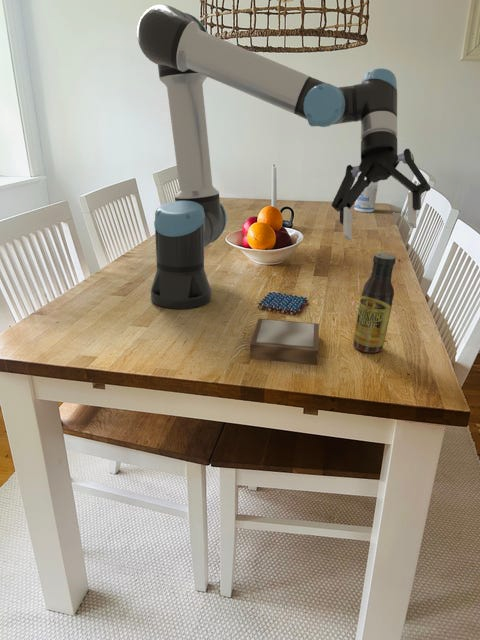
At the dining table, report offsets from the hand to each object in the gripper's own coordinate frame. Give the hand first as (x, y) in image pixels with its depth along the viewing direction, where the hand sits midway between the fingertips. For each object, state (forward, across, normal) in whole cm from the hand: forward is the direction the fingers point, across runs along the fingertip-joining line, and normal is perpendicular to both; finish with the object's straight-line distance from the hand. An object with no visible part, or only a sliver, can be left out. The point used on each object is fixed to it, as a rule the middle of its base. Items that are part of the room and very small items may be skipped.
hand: (378, 232), depth 100 cm
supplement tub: (-69, +53, -122) cm, 150 cm away
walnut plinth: (+24, +18, +5) cm, 30 cm away
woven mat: (+11, +28, -10) cm, 32 cm away
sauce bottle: (+23, +4, -5) cm, 24 cm away
